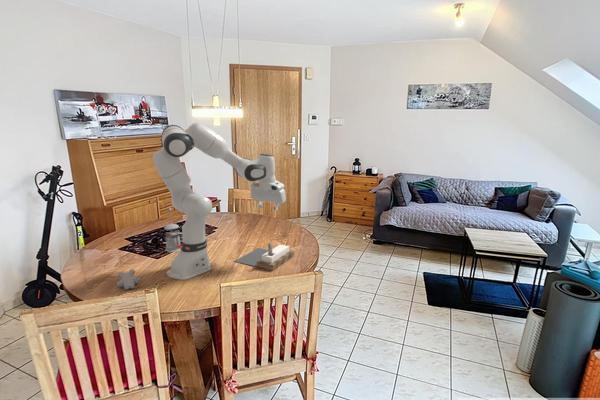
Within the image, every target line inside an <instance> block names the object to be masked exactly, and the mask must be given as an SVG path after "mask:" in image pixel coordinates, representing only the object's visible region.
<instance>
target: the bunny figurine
mask: <svg viewBox="0 0 600 400" xmlns="http://www.w3.org/2000/svg"><path fill="white" fill-rule="evenodd" d="M134 274H136V270H135V269H130V270H129V271H127V272H123V271H118V272H117V274H116V276H117V277H119V278H120V280H118V281H116V287H117V288H123V290H125V291H127V290H131V289H135V288H136V287H135V286H136V285H137V284H138V283H141V279H140V278H141V277H139V276H134Z"/></svg>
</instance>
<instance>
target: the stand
mask: <svg viewBox="0 0 600 400" xmlns="http://www.w3.org/2000/svg"><path fill="white" fill-rule="evenodd" d="M267 245H268V249H267V250H268V254H269V256H272V249H273V242H268V243H267ZM294 257H295V250H291V249H289V252H288V253H286V254H285V255H283V256H282V257H280V258H279V259H277V260H276V261H274V262H273V263H269V262H264V261H262V259H260V260H258V261H257V265H256V268H258V269H262V270H263V269H264V270H268V271H272V272H273V271H275V270H277V269H278V268H279V267H281V266H282V265H284V264H285V263H286V262H288V261H290V260H291V259H292V258H294Z"/></svg>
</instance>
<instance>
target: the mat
mask: <svg viewBox="0 0 600 400" xmlns="http://www.w3.org/2000/svg"><path fill="white" fill-rule="evenodd" d="M267 252H268V249H266V248H261V247H257V248H255V249H253V250H252V251H249V252H248V253H246V254H244V255H242V256H241V257H239V258H238V259H236V260H234V263H238V264H242V265H246V266H251V267H257V261H258V260H260V259H262V255H264V254H265V253H267Z"/></svg>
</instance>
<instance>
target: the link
mask: <svg viewBox="0 0 600 400" xmlns="http://www.w3.org/2000/svg"><path fill="white" fill-rule="evenodd" d="M289 250H290V245H284V244H278V246H275V247H274V248H273V247H272V256H269V254H268V252H267V253H265V254H264V255H262V261H264V262H269V263H273V262H274V261H276V260H277V259H279V258H280V257H282V256H283V255H285V254H286V253H288V252H289Z"/></svg>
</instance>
